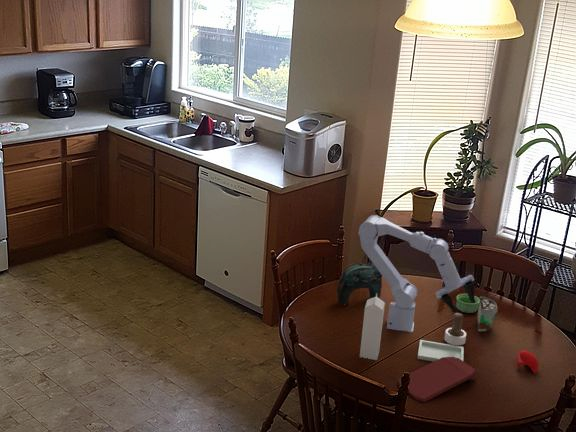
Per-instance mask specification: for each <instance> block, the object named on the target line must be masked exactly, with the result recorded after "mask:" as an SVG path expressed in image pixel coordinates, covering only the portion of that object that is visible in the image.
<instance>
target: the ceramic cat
mask: <svg viewBox="0 0 576 432" xmlns="http://www.w3.org/2000/svg"><path fill="white" fill-rule="evenodd" d="M366 257H368V256H367V254H366V253H365V254H364V256H363V258H366ZM368 260H369V261H368V263H367V264H365V263H359V262H355V263H351V264H348V265H347V266H346V267H345V268H344V270H343V272H342V273H341V275H340V278H339V279H338V282H337V288H336V289H337V303H338V304H339V305H340V306H341V305H344V304H348V305H349V299H350V296H351V294H352V293H353V292H354V291H356V290H359V289H368V293H369V299H371V298H374V297H376V294H377V297H378V298H379V299H381V292H382V284H383V283H382V281H383V279H382V277H383V276H382V274H381V273H380V272H379V270H378V269H377V268H376V266H375V265H374V264H373V262H372V261H371V260H370V258H369V257H368ZM344 306H345V305H344Z"/></svg>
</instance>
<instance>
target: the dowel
mask: <svg viewBox="0 0 576 432" xmlns="http://www.w3.org/2000/svg"><path fill="white" fill-rule="evenodd" d="M463 320H464V315H463V313H460V312H456V313H453V320H452V326H451V328H452V331H451V335H453V336H457V337H460V334H461V330H462V326H463Z"/></svg>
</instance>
